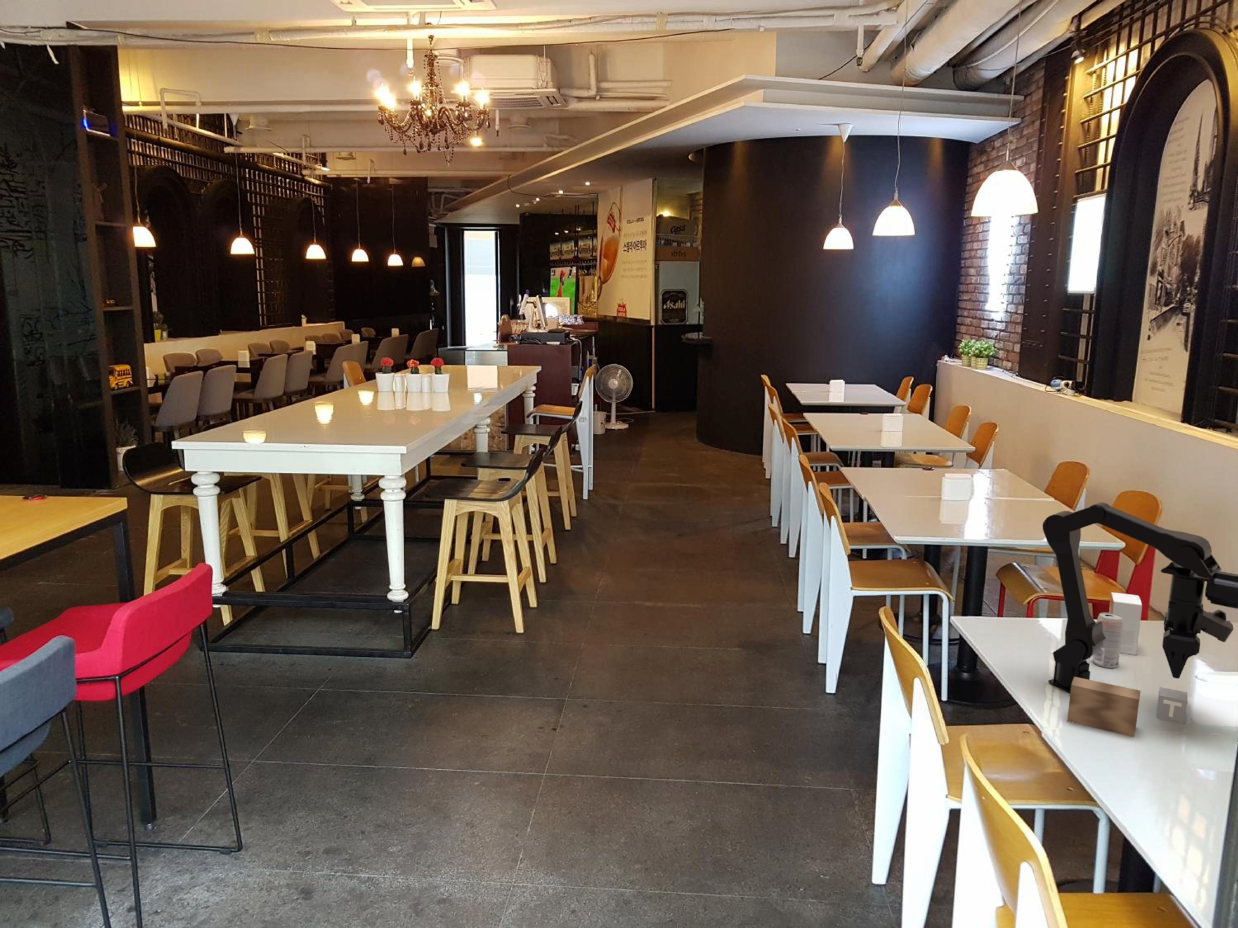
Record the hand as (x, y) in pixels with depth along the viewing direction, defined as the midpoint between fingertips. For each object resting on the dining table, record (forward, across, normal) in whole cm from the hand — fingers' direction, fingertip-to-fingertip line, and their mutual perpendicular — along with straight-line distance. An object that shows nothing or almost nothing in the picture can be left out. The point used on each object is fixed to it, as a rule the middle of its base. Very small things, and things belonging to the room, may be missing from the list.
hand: (1176, 670), depth 186 cm
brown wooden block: (+10, -12, +12) cm, 20 cm away
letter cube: (+10, 0, 0) cm, 10 cm away
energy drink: (+10, +24, +14) cm, 29 cm away
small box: (+10, +38, +11) cm, 41 cm away
